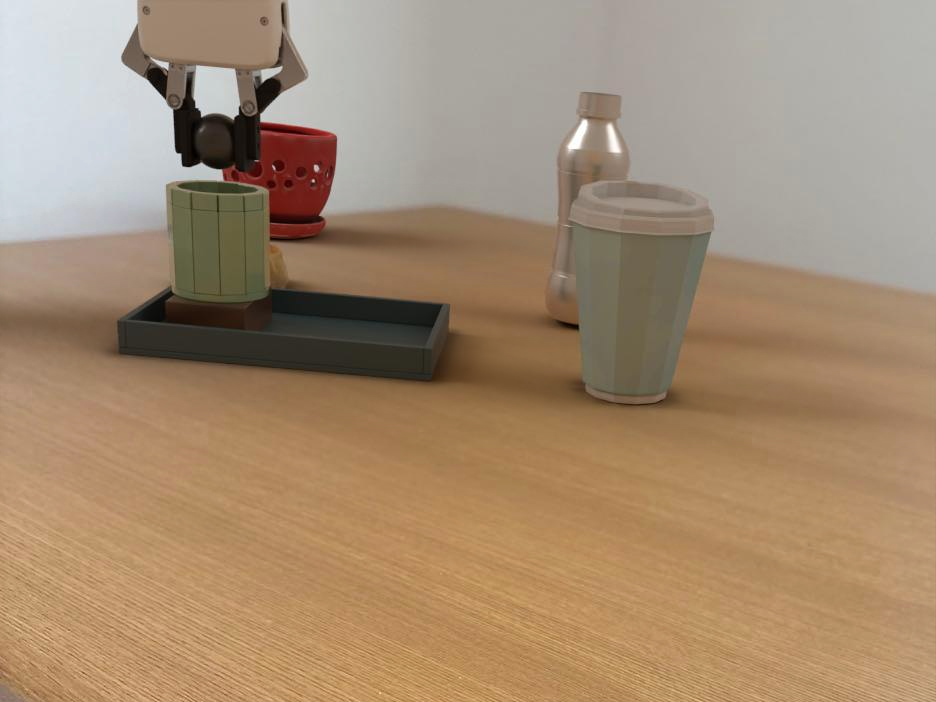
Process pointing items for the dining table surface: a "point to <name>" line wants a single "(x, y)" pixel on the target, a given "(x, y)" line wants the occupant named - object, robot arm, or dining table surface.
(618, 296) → the disposable coffee cup
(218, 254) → the jar
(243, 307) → the riser
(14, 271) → the dining table surface
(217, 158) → the ball
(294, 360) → the tray
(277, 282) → the pastry
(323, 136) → the flower pot
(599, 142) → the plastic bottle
